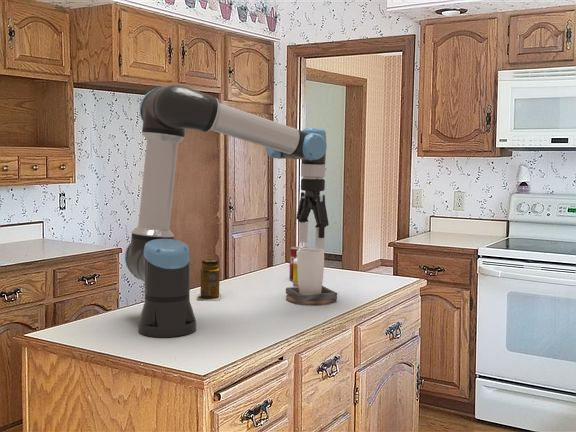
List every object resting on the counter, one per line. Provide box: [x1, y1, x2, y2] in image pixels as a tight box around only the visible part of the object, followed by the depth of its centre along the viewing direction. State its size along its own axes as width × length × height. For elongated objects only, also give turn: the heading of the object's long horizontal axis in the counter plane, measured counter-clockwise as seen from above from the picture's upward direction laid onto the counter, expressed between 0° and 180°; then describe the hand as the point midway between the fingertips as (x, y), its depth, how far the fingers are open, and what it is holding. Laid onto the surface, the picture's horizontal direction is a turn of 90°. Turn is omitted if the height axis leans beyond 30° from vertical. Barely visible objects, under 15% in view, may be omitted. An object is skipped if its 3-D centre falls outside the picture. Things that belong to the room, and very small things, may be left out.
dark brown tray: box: [285, 285, 338, 306], centre depth 217 cm, size 16×16×3 cm
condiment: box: [196, 258, 222, 301], centre depth 218 cm, size 7×8×12 cm
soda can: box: [288, 245, 309, 282], centre depth 247 cm, size 7×7×12 cm
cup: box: [297, 247, 325, 295], centre depth 216 cm, size 7×7×15 cm
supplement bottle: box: [292, 251, 299, 287], centre depth 233 cm, size 7×7×13 cm
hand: (311, 245), depth 215 cm, fingers open, 13 cm apart
